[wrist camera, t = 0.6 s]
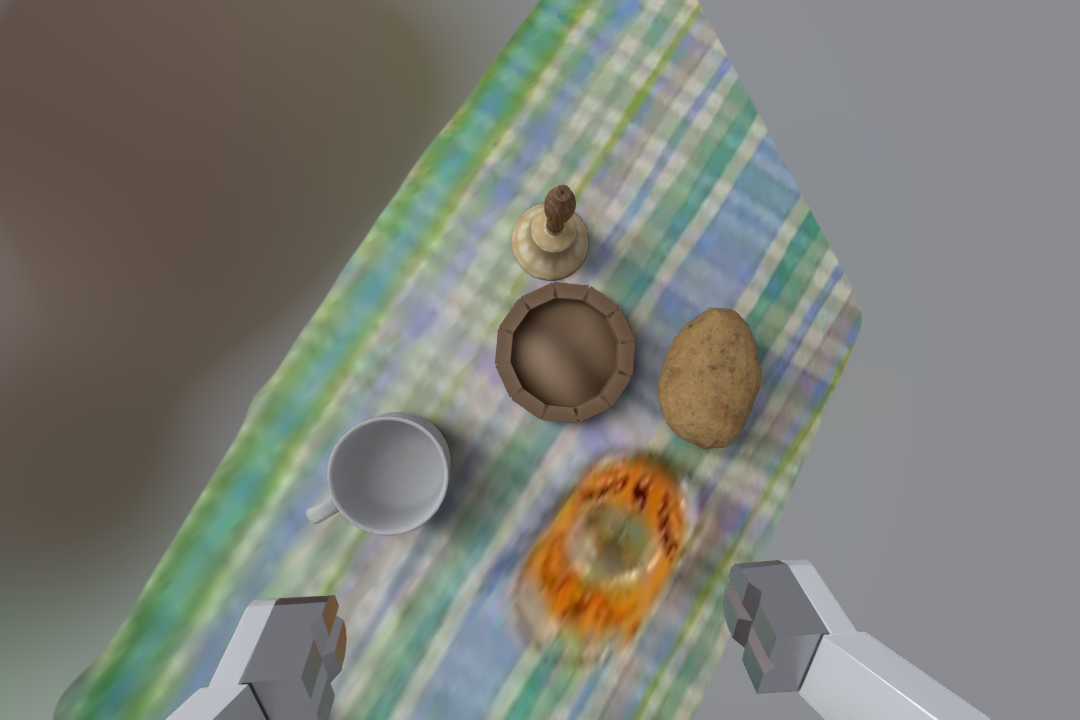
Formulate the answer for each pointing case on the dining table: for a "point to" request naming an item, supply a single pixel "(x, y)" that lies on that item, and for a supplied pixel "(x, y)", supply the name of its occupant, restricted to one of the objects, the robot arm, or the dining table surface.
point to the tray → (565, 352)
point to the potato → (710, 379)
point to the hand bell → (551, 237)
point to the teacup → (387, 475)
